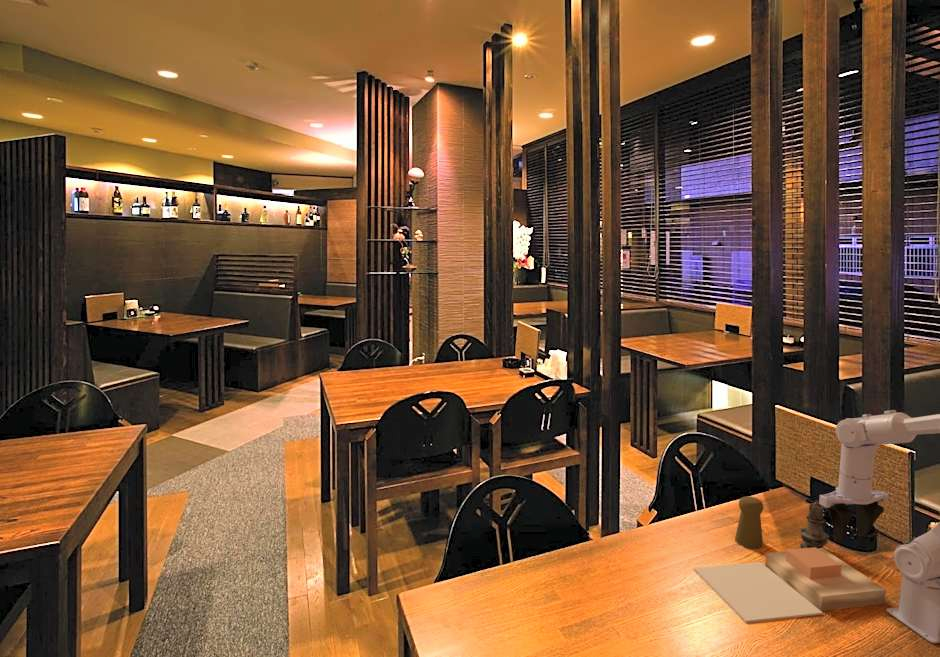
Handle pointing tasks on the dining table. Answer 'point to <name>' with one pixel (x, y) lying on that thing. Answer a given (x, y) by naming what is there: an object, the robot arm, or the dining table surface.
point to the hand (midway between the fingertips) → (850, 536)
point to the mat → (756, 592)
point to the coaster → (813, 563)
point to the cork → (750, 523)
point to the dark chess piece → (814, 528)
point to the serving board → (829, 585)
